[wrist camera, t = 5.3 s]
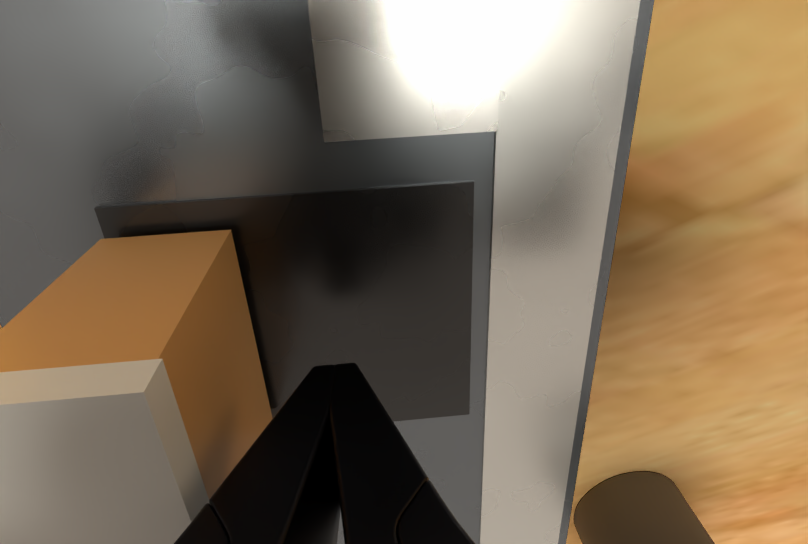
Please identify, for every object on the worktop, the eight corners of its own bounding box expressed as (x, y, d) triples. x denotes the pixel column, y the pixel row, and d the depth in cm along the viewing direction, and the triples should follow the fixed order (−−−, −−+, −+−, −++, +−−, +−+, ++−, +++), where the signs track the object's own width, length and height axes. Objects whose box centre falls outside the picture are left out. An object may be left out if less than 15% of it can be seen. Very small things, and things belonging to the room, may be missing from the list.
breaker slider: (233, 229, 10) (143, 392, 6) (276, 425, 12) (234, 641, 8) (97, 239, 9) (-97, 413, 5) (168, 435, 12) (68, 661, 8)
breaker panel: (623, -252, 9) (875, -498, 5) (537, 501, 18) (593, 657, 14) (-141, -234, 8) (-693, -501, 4) (171, 539, 18) (109, 716, 13)
